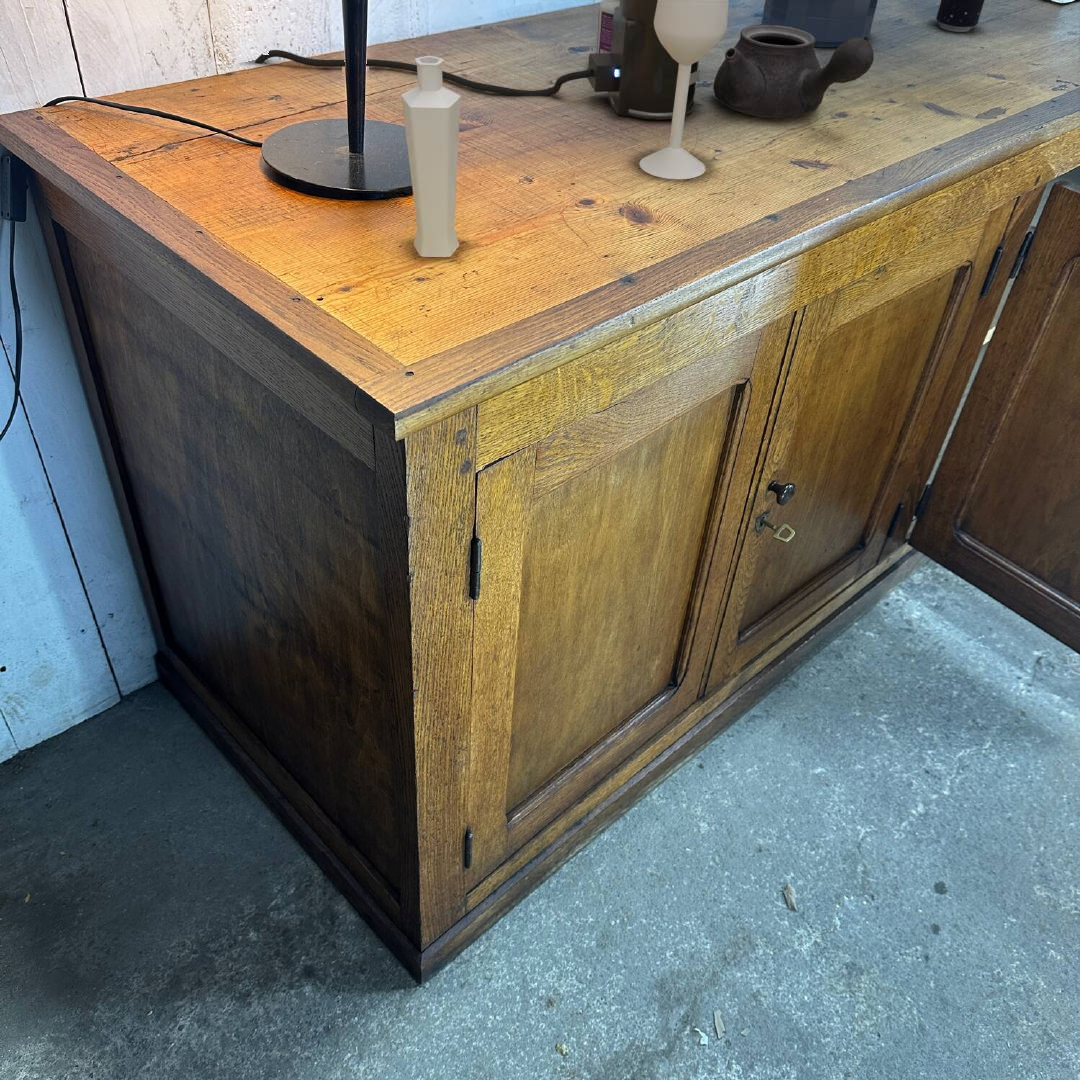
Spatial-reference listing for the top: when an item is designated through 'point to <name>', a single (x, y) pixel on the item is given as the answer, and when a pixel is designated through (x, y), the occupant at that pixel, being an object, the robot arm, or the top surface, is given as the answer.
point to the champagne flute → (684, 72)
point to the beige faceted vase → (433, 157)
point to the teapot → (784, 71)
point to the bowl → (823, 18)
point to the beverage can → (959, 14)
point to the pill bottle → (605, 25)
